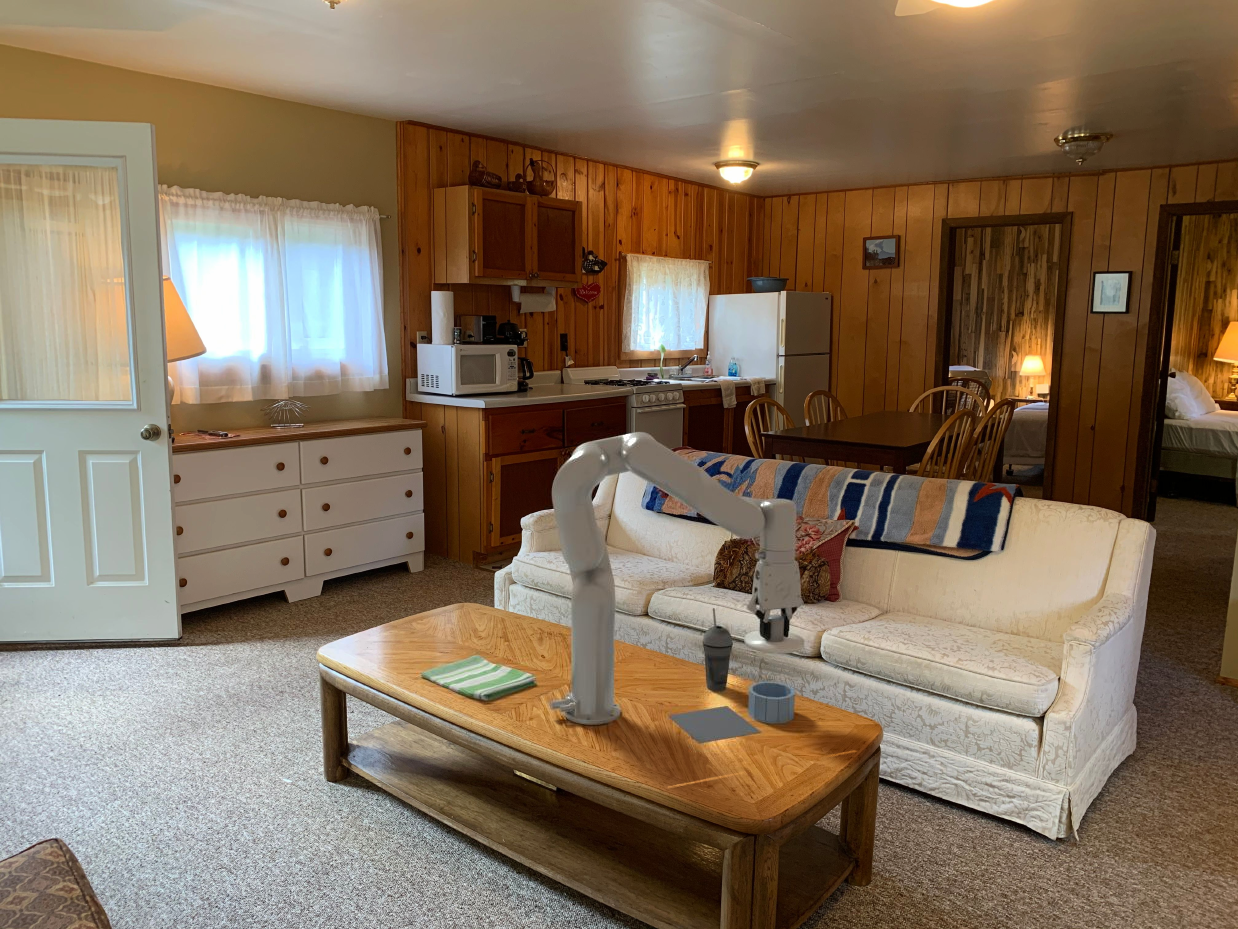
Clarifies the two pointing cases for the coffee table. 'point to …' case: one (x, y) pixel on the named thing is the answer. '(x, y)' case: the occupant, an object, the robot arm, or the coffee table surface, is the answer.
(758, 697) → the bowl
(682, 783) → the coffee table surface
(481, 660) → the dish towel
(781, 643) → the lid
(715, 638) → the beverage cup
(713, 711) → the mat
